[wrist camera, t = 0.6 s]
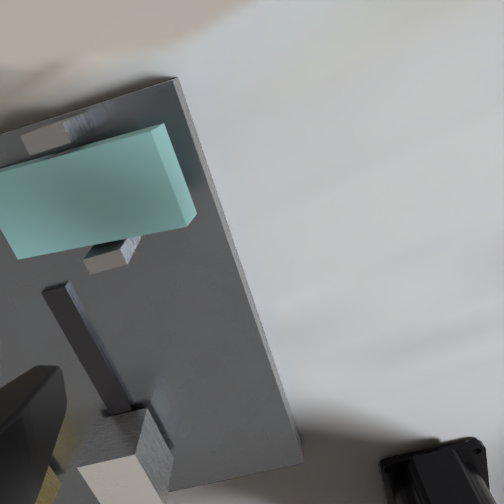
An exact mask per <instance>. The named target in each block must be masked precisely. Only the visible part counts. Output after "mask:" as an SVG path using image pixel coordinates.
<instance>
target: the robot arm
mask: <svg viewBox="0 0 504 504" xmlns="http://www.w3.org/2000/svg"><path fill="white" fill-rule="evenodd" d="M66 409H67V397H66V390H65V384H64V377H63V372H62V369H61V368H60V367H59V366H56V365H37V366H35V367H33V368H31V369H30V370H28V371H26V372H25V373H23V374H22V375H20V376H19V377H17V378H15V379H14V380H12V381H11V382H9V383H7V384H6V385H4V386H3V387H1V388H0V504H35V503H36V501H37V498H38V496H39V493H40V490H41V487H42V484H43V482H44V479H45V475H46V472H47V469H48V466H49V463H50V460H51V457H52V454H53V451H54V448H55V445H56V442H57V439H58V436H59V432H60V429H61V426H62V423H63V420H64V417H65V414H66ZM379 469H380V473H381V477H382V481H383V486H384V490H385V494H386V498H387V502H388V504H496V502H495V500H494V498H493V497H492V495H491V493H490V490H489V479H488V469H487V458H486V449H485V447H484V445H483V443H482V442H481V441H479V440H472V441H468V442H463V443H458V444H453V445H449V446H444V447H439V448H435V449H430V450H425V451H420V452H416V453H411V454H406V455H401V456H397V457H392V458H387V459H384V460H382V461H380V463H379Z"/></svg>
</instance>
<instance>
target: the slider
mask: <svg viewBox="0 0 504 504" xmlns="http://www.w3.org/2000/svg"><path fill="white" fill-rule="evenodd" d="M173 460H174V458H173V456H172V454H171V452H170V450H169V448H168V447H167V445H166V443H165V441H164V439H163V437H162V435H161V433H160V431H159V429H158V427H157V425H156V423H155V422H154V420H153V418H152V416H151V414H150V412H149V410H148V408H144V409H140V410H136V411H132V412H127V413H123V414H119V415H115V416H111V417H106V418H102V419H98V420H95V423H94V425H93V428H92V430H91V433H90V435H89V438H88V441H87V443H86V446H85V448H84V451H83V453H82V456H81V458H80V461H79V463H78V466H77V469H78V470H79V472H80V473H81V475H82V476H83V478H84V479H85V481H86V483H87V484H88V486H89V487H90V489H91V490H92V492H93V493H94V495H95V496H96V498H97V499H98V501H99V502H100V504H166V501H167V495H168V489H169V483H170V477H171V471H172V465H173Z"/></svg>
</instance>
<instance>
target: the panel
mask: <svg viewBox="0 0 504 504" xmlns="http://www.w3.org/2000/svg"><path fill="white" fill-rule="evenodd" d="M162 123H164V125H165V127H166V130H167V133H168V135H169V138H170V141H171V144H172V146H173V149H174V152H175V155H176V157H177V160H178V163H179V166H180V168H181V171H182V174H183V176H184V179H185V182H186V185H187V187H188V190H189V193H190V196H191V198H192V201H193V204H194V206H195V209H196V212H197V214H196V216H195V217H194V218H193V220H192V221H191V222H190V224H189V225H188V226H187V227H183V228H178V229H173V230H168V231H162V232H157V233H152V234H147V235H142V236H137V237H132V238H126V239H121V240H116V241H111V242H106V243H101V244H96V245H90V246H85V247H80V248H75V249H70V250H65V251H60V252H54V253H49V254H44V255H39V256H34V257H29V258H24V259H19V260H18V259H17V257H16V255H15V253H14V252H13V250H12V248H11V246H10V245H9V243H8V241H7V239H6V238H5V236H4V234H3V233H2V231H1V229H0V388H1V387H3V386H4V385H6V384H7V383H9V382H11V381H12V380H14V379H15V378H17V377H19V376H20V375H22V374H23V373H25V372H26V371H28V370H30V369H31V368H33V367H35V366H37V365H56V366H59V367H60V368H61V369H62V372H63V377H64V384H65V390H66V397H67V409H66V414H65V417H64V420H63V423H62V426H61V429H60V432H59V436H58V439H57V442H56V445H55V448H54V451H53V454H52V457H51V460H50V463H49V466H50V468H51V469H52V470H53V472H54V473H55V475H56V476H57V478H58V479H59V481H60V482H61V483H62V484H61V486H60V488H59V491H58V493H57V496H56V498H55V501H54V503H53V504H100V502H99V501H98V499H97V498H96V496H95V495H94V493H93V492H92V490H91V489H90V487H89V486H88V484H87V483H86V481H85V479H84V478H83V476H82V475H81V473H80V472H79V470H78V469H77V466H78V463H79V461H80V458H81V456H82V453H83V451H84V448H85V446H86V443H87V441H88V438H89V435H90V433H91V430H92V428H93V425H94V423H95V420H98V419H102V418H106V417H111V416H115V415H119V414H123V413H127V412H132V411H136V410H140V409H144V408H148V410H149V412H150V414H151V416H152V418H153V420H154V422H155V423H156V425H157V427H158V429H159V431H160V433H161V435H162V437H163V439H164V441H165V443H166V445H167V447H168V448H169V450H170V452H171V454H172V456H173V458H174V460H173V465H172V471H171V477H170V483H169V489H168V492H171V491H176V490H181V489H185V488H190V487H195V486H199V485H204V484H209V483H213V482H218V481H223V480H227V479H232V478H236V477H241V476H246V475H250V474H255V473H260V472H264V471H269V470H274V469H278V468H283V467H288V466H292V465H297V464H302V463H304V457H303V450H302V443H301V440H300V437H299V434H298V431H297V428H296V425H295V422H294V419H293V416H292V413H291V410H290V407H289V404H288V401H287V398H286V395H285V392H284V390H283V387H282V384H281V381H280V378H279V375H278V372H277V369H276V366H275V363H274V360H273V357H272V354H271V351H270V348H269V345H268V342H267V339H266V336H265V333H264V330H263V327H262V325H261V322H260V319H259V316H258V313H257V310H256V307H255V304H254V301H253V298H252V295H251V292H250V289H249V286H248V283H247V280H246V277H245V274H244V271H243V268H242V265H241V263H240V260H239V257H238V254H237V251H236V248H235V245H234V242H233V239H232V236H231V233H230V230H229V227H228V224H227V221H226V218H225V215H224V212H223V209H222V206H221V203H220V201H219V198H218V195H217V192H216V189H215V186H214V183H213V180H212V177H211V174H210V171H209V168H208V165H207V162H206V159H205V156H204V153H203V150H202V147H201V144H200V141H199V139H198V136H197V133H196V130H195V127H194V124H193V121H192V118H191V115H190V112H189V109H188V106H187V103H186V100H185V97H184V94H183V91H182V88H181V85H180V82H179V79H178V78H174V79H171V80H168V81H165V82H162V83H159V84H156V85H152V86H149V87H146V88H143V89H140V90H137V91H134V92H130V93H127V94H124V95H121V96H118V97H115V98H112V99H109V100H105V101H102V102H99V103H96V104H93V105H90V106H87V107H83V108H80V109H77V110H74V111H71V112H68V113H65V114H61V115H58V116H55V117H52V118H49V119H46V120H43V121H40V122H36V123H33V124H30V125H27V126H24V127H21V128H18V129H14V130H11V131H8V132H5V133H2V134H0V169H1V168H4V167H8V166H12V165H15V164H19V163H22V162H26V161H29V160H33V159H37V158H40V157H44V156H47V155H51V154H55V153H58V152H61V151H63V150H66V149H70V148H76V147H80V146H83V145H87V144H90V143H94V142H98V141H101V140H105V139H108V138H112V137H116V136H119V135H123V134H126V133H130V132H134V131H137V130H141V129H144V128H148V127H151V126H155V125H159V124H162Z"/></svg>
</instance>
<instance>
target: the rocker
mask: <svg viewBox="0 0 504 504" xmlns="http://www.w3.org/2000/svg"><path fill="white" fill-rule="evenodd" d="M196 214H197V212H196V209H195V206H194V204H193V201H192V198H191V196H190V193H189V190H188V187H187V185H186V182H185V179H184V176H183V174H182V171H181V168H180V166H179V163H178V160H177V157H176V155H175V152H174V149H173V146H172V144H171V141H170V138H169V135H168V133H167V130H166V127H165V125H164V123H162V124H159V125H155V126H151V127H148V128H144V129H141V130H137V131H134V132H130V133H126V134H123V135H119V136H116V137H112V138H108V139H105V140H101V141H98V142H94V143H90V144H87V145H83V146H80V147H76V148H70V149H66V150H63V151H61V152H58V153H55V154H51V155H47V156H44V157H40V158H37V159H33V160H29V161H26V162H22V163H19V164H15V165H12V166H8V167H4V168H1V169H0V229H1V231H2V233H3V234H4V236H5V238H6V239H7V241H8V243H9V245H10V246H11V248H12V250H13V252H14V253H15V255H16V257H17V259H18V260H19V259H24V258H29V257H34V256H39V255H44V254H49V253H54V252H60V251H65V250H70V249H75V248H80V247H85V246H90V245H96V244H101V243H106V242H111V241H116V240H121V239H126V238H132V237H137V236H142V235H147V234H152V233H157V232H162V231H168V230H173V229H178V228H183V227H187V226H188V225H189V224H190V222H191V221H192V220H193V218H194V217H195V216H196Z"/></svg>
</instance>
